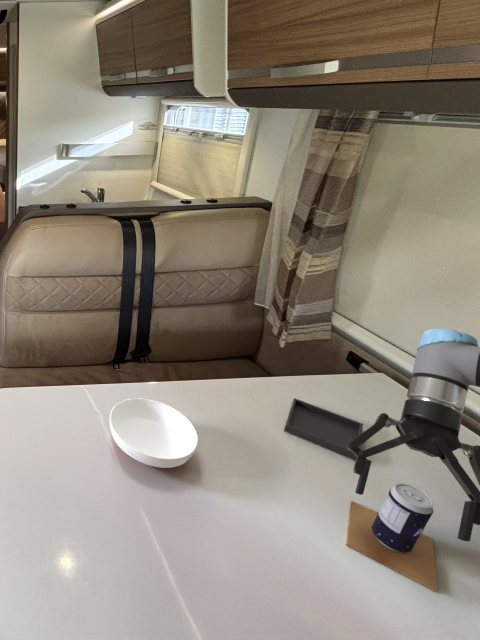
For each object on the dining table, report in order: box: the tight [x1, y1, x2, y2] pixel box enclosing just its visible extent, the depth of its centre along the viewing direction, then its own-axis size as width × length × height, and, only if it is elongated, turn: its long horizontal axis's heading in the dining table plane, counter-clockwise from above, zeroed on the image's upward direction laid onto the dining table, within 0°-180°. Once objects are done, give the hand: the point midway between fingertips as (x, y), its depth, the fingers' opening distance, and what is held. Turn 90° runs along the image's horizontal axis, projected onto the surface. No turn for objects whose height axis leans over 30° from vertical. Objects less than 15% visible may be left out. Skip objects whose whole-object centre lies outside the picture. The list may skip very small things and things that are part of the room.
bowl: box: [109, 397, 199, 469], centre depth 102 cm, size 20×20×6 cm
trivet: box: [345, 500, 439, 593], centre depth 81 cm, size 12×12×1 cm
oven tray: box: [283, 398, 364, 461], centre depth 107 cm, size 14×13×2 cm
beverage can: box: [372, 483, 434, 552], centre depth 78 cm, size 6×6×12 cm
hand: (408, 515), depth 77 cm, fingers open, 13 cm apart
